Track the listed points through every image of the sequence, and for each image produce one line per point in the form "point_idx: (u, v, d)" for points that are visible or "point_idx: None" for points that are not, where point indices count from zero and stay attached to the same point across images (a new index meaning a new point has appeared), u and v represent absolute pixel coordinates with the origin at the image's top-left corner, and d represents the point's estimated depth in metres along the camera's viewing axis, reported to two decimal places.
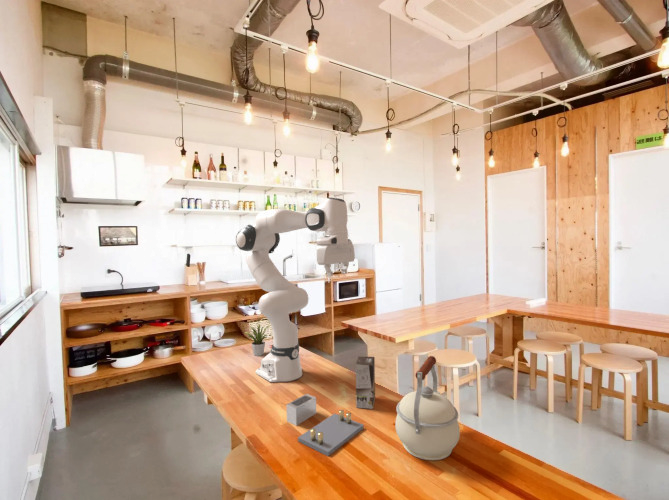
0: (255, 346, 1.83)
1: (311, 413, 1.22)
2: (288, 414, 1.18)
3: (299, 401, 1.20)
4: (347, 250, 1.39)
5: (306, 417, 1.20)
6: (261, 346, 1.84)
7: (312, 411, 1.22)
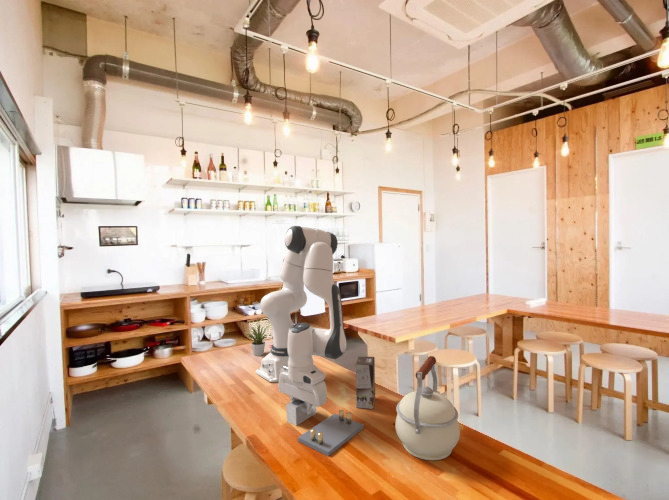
0: (255, 346, 1.83)
1: (311, 413, 1.22)
2: (288, 414, 1.18)
3: (299, 401, 1.20)
4: None
5: (306, 417, 1.20)
6: (261, 346, 1.84)
7: (312, 411, 1.22)
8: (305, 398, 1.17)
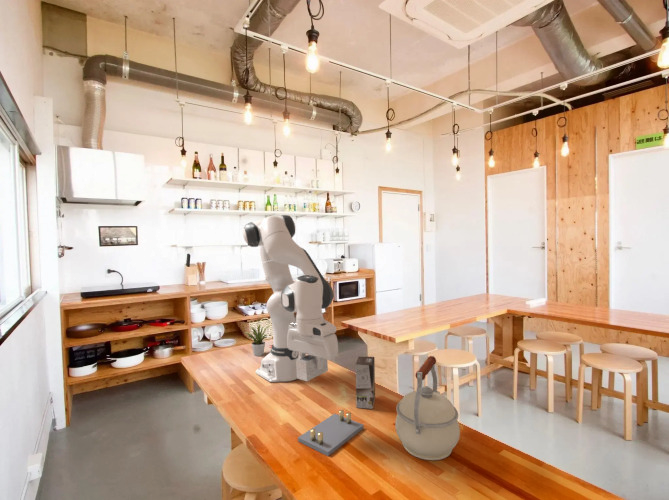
0: (255, 346, 1.83)
1: (322, 370, 1.15)
2: (298, 370, 1.12)
3: (309, 357, 1.13)
4: None
5: (317, 373, 1.13)
6: (261, 346, 1.84)
7: (323, 368, 1.15)
8: (315, 352, 1.10)
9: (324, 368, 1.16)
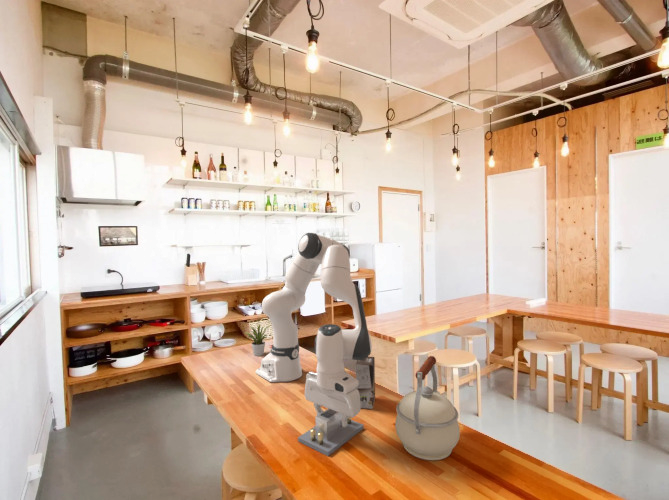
0: (255, 346, 1.83)
1: None
2: (317, 427, 1.07)
3: (328, 413, 1.09)
4: None
5: (337, 430, 1.09)
6: (261, 346, 1.84)
7: None
8: (336, 407, 1.06)
9: None
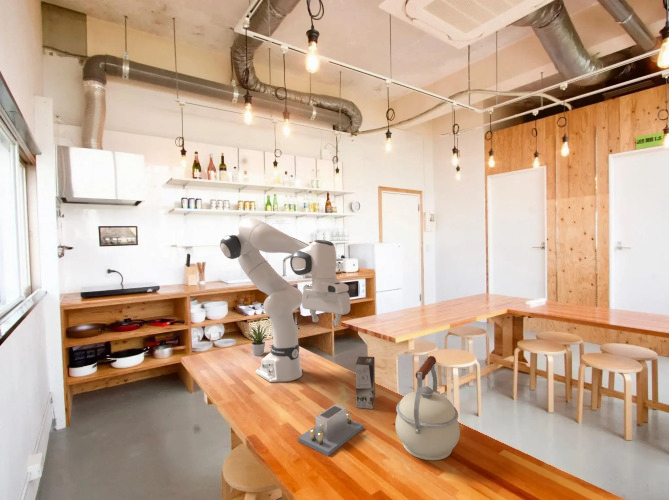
0: (255, 346, 1.83)
1: (342, 426, 1.11)
2: (317, 427, 1.07)
3: (328, 413, 1.09)
4: None
5: (337, 430, 1.09)
6: (261, 346, 1.84)
7: (343, 424, 1.11)
8: (329, 309, 1.22)
9: (343, 424, 1.11)
